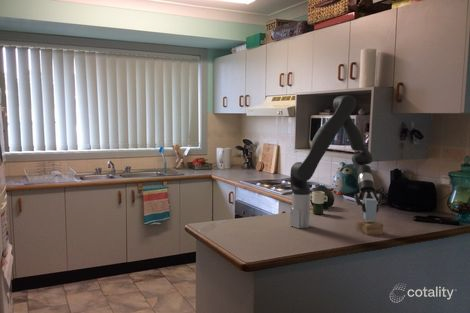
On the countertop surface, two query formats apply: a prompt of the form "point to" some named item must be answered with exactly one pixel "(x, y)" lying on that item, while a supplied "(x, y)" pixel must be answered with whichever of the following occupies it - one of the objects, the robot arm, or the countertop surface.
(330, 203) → the squash
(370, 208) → the grey pillar block
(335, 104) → the robot arm
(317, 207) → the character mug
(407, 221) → the countertop surface
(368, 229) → the layered tan block
